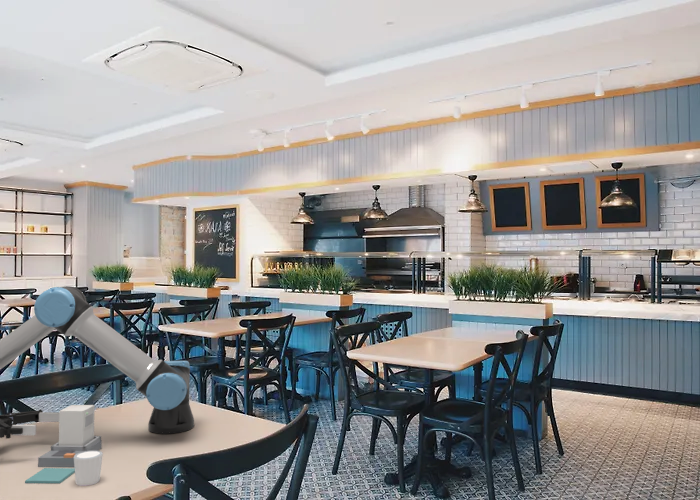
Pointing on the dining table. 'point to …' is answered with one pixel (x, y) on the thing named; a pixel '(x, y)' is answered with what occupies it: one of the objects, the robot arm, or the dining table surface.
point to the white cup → (87, 467)
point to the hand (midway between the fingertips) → (48, 423)
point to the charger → (76, 425)
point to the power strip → (67, 453)
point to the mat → (51, 475)
